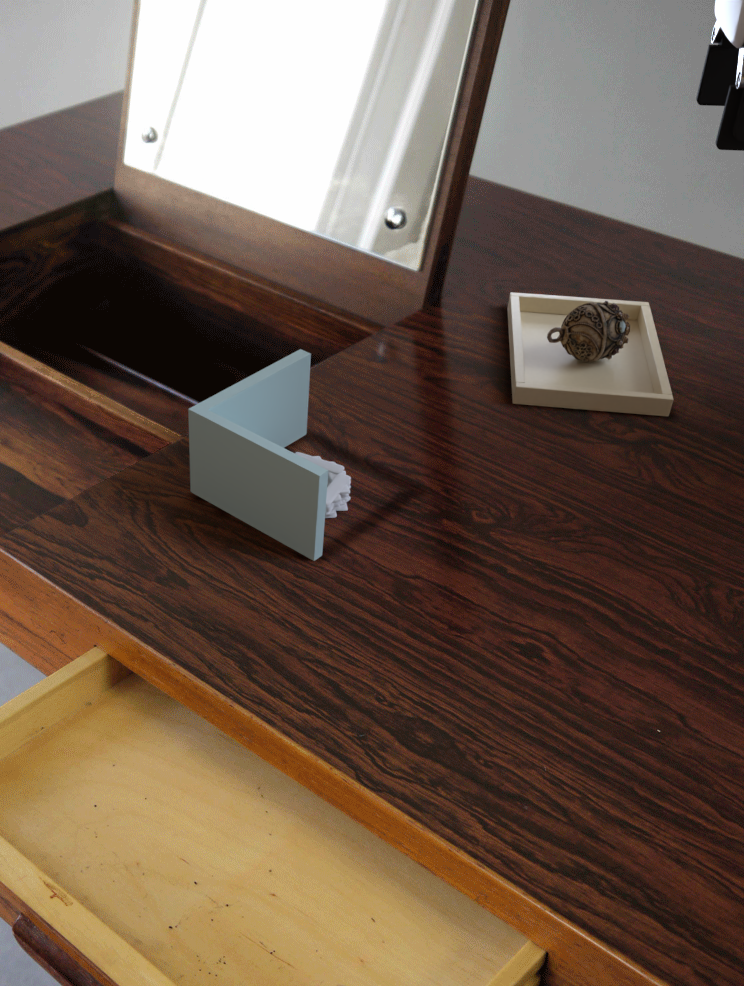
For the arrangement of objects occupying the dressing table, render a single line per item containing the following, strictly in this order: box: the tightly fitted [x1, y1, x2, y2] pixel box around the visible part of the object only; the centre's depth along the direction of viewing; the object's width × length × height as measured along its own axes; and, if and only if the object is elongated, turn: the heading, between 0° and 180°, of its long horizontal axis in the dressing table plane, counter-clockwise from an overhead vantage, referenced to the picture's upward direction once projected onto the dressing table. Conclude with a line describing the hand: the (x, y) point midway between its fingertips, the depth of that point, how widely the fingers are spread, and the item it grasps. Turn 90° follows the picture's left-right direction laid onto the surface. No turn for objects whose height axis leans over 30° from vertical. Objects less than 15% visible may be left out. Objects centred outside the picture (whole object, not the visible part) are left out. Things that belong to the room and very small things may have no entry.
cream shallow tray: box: [507, 291, 674, 417], centre depth 99 cm, size 18×13×2 cm
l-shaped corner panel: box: [187, 348, 352, 562], centre depth 82 cm, size 12×12×8 cm
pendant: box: [547, 301, 630, 362], centre depth 98 cm, size 5×8×5 cm, turn 104°
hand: (727, 125), depth 82 cm, fingers open, 9 cm apart
